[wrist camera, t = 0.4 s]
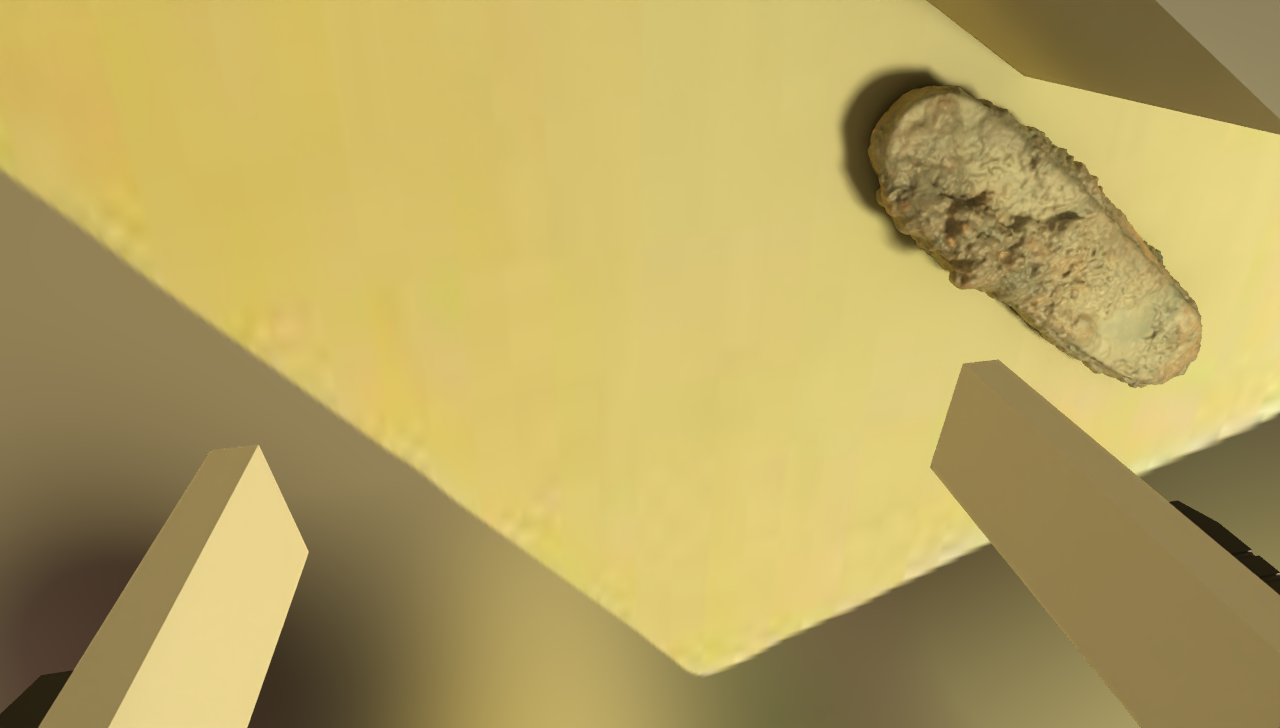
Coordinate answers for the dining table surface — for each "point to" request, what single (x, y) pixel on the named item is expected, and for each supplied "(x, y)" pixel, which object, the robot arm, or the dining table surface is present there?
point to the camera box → (1143, 50)
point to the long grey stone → (1031, 233)
